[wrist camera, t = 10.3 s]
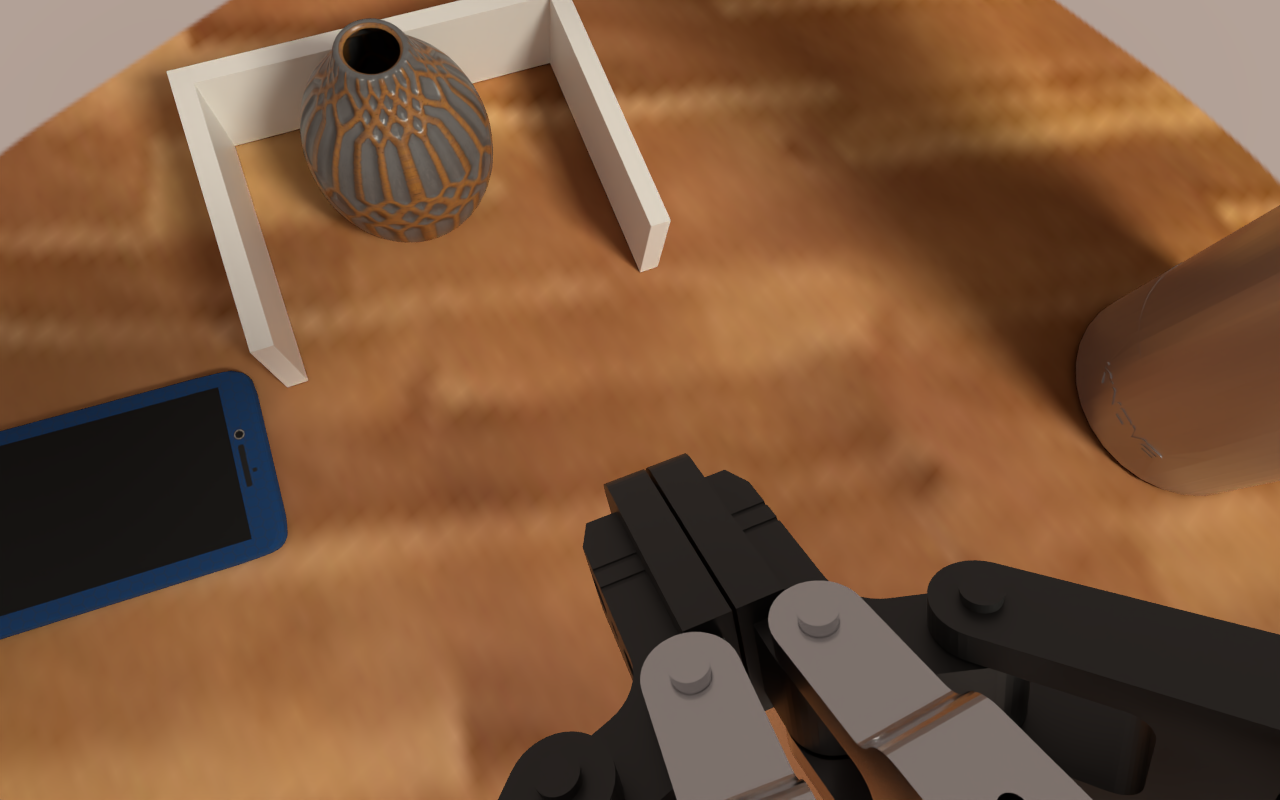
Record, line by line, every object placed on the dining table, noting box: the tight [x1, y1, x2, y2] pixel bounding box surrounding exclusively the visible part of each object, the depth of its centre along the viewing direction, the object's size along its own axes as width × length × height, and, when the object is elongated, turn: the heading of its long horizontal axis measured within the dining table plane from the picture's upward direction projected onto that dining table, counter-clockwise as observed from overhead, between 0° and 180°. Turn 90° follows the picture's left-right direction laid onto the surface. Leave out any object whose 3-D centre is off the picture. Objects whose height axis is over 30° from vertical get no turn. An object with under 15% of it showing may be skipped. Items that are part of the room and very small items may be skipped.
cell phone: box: [0, 371, 287, 639], centre depth 29 cm, size 7×14×1 cm, turn 109°
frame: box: [166, 0, 671, 387], centre depth 32 cm, size 16×12×4 cm
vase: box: [300, 19, 493, 242], centre depth 30 cm, size 7×7×9 cm
